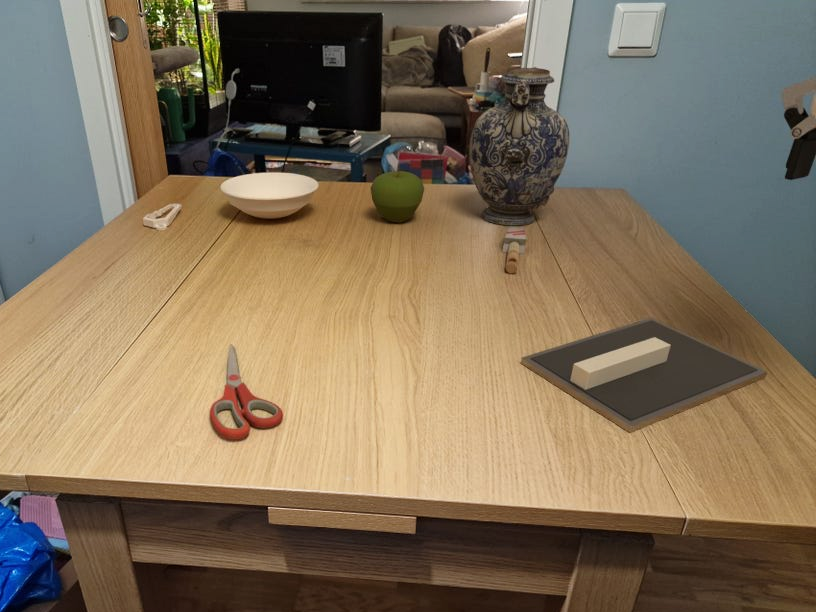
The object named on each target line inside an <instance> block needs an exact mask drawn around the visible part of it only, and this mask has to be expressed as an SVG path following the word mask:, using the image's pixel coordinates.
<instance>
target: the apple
mask: <svg viewBox="0 0 816 612" xmlns="http://www.w3.org/2000/svg"><path fill="white" fill-rule="evenodd" d="M424 192H425V186H424V183H423V180H422V179H421V178H420V177H419V176H417V175H416V174H415V173H412V172H409V171H405V170H399V169H398V170H394V171H388V172H383V173H382V174H379V175H378V176H377V177H374V180H373V182H372V184H371V186H370V194H371V195H370V196H371V200H372V202H373V205H374V206H375V209H376V211H377V214H378V215H379V216H380V217H382V218H384V219H385V220H386V221H389V222H393V223H404V222H406V221H407V220H409V219H410V218H411V217H413V216H414V215H415V213H416V211H417V210H418V208H419V206H420V205H421V203H422V200H423V197H424Z"/></svg>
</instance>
